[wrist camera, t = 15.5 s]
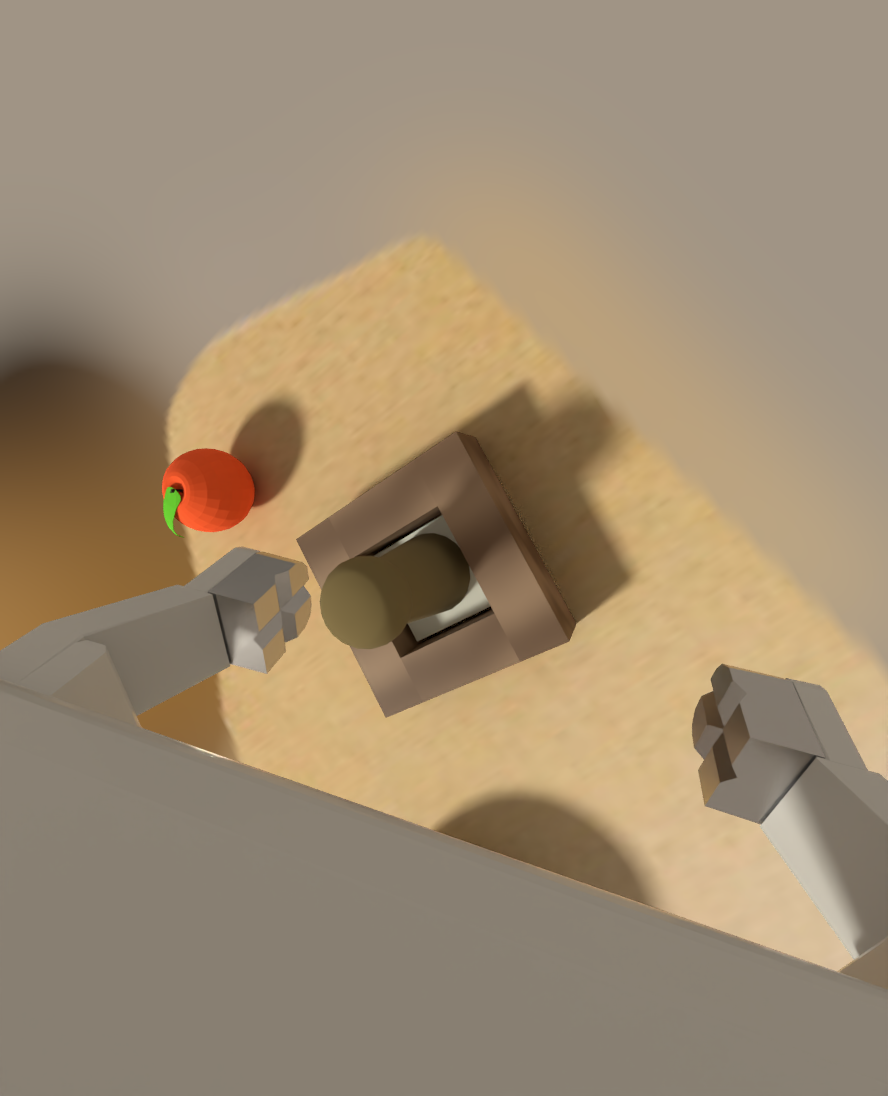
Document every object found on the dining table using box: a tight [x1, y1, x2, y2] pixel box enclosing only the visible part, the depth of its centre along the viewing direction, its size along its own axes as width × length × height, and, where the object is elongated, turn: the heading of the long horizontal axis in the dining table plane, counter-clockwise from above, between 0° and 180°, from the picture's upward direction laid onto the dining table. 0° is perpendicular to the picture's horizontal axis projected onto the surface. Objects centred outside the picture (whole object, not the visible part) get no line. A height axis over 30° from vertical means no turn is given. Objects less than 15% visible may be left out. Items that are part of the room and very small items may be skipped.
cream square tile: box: [374, 515, 490, 642], centre depth 35 cm, size 7×7×1 cm
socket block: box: [296, 432, 576, 717], centre depth 34 cm, size 15×15×4 cm
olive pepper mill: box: [320, 533, 470, 649], centre depth 30 cm, size 6×6×11 cm
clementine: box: [162, 448, 255, 537], centre depth 39 cm, size 8×7×7 cm
